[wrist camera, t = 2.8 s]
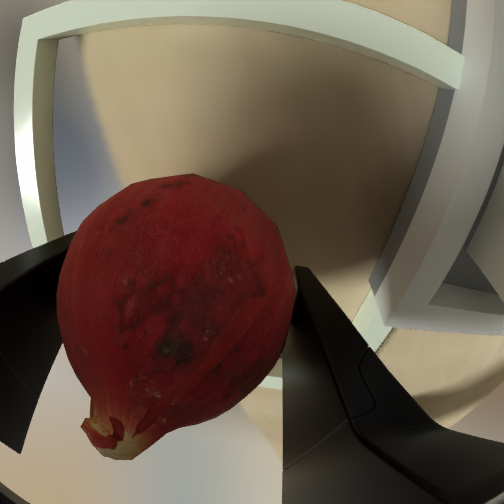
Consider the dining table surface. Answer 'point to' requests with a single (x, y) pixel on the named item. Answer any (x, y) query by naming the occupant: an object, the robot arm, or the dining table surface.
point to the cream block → (491, 239)
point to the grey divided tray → (451, 193)
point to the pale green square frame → (211, 13)
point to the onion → (171, 308)
